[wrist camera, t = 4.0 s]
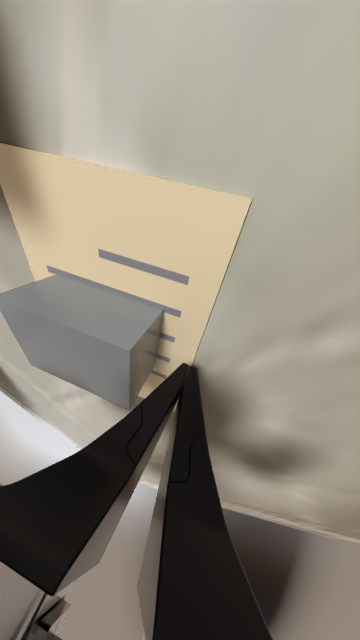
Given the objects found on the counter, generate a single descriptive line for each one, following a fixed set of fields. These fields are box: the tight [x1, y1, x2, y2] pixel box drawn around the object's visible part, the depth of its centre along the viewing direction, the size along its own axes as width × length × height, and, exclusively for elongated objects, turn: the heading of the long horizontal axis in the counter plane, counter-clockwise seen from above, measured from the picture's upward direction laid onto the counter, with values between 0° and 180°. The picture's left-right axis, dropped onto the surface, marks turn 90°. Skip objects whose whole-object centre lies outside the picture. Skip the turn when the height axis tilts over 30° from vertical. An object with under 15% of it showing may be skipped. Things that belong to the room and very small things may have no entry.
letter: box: [0, 143, 252, 412], centre depth 11 cm, size 12×16×1 cm
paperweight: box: [0, 273, 164, 410], centre depth 10 cm, size 7×5×4 cm
